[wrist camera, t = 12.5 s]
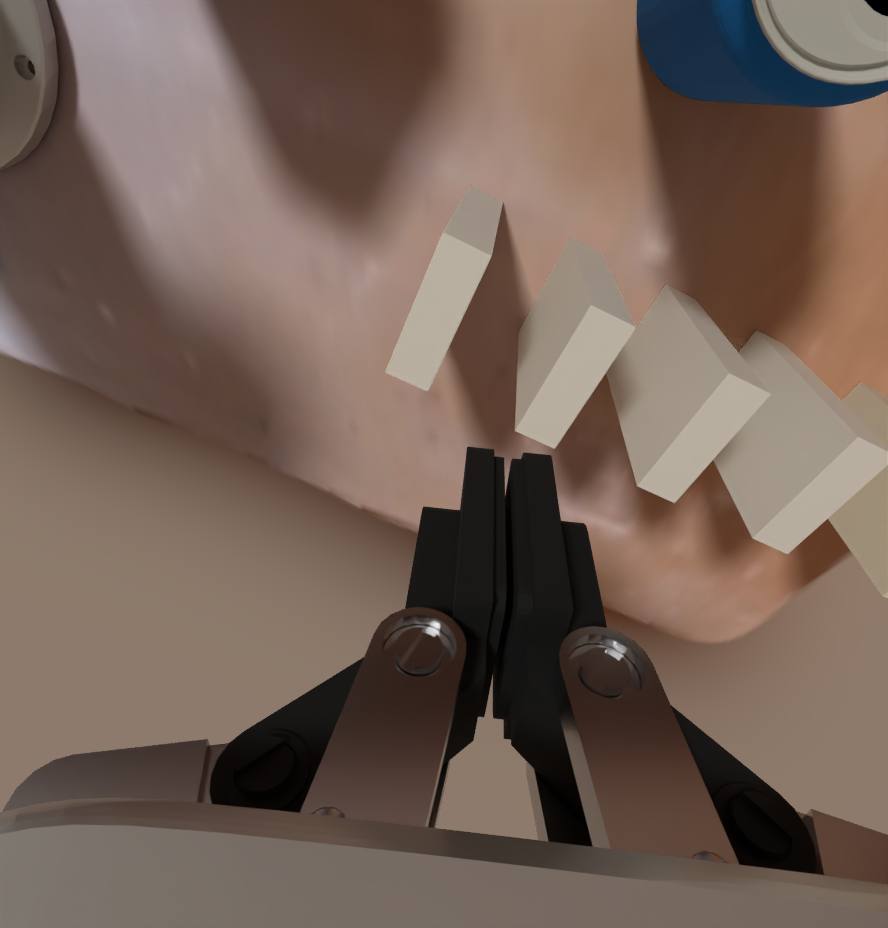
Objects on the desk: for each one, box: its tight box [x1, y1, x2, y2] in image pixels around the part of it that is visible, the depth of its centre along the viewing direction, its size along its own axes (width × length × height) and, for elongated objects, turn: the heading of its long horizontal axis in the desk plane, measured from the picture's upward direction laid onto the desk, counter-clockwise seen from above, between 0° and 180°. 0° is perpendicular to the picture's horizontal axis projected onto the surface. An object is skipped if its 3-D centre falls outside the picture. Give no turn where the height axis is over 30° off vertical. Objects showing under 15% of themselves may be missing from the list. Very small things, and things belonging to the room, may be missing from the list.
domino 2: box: [515, 236, 636, 449], centre depth 23 cm, size 2×5×10 cm, turn 156°
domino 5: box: [828, 382, 888, 598], centre depth 25 cm, size 2×5×10 cm, turn 156°
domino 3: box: [606, 284, 771, 503], centre depth 24 cm, size 2×5×10 cm, turn 156°
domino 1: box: [385, 185, 503, 392], centre depth 22 cm, size 2×5×10 cm, turn 156°
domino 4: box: [713, 330, 888, 554], centre depth 24 cm, size 2×5×10 cm, turn 156°
